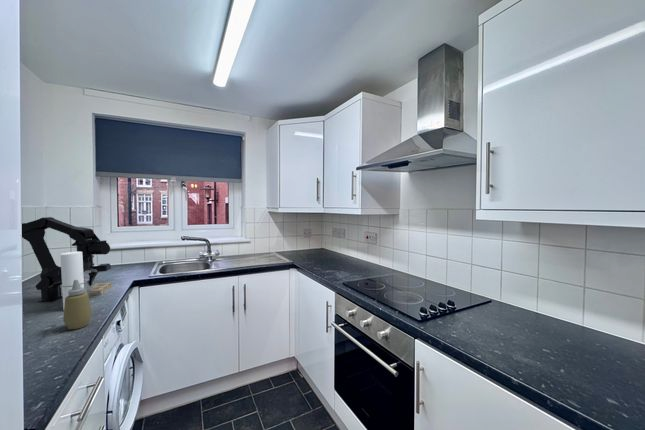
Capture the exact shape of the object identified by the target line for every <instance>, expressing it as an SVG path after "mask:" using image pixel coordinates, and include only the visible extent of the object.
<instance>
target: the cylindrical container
mask: <svg viewBox="0 0 645 430" xmlns="http://www.w3.org/2000/svg"><path fill="white" fill-rule="evenodd" d="M60 267H61V274H62V285H61V294H62V296H63V298H62V307H63V311H64V306H65V298H66V297H67V296H69V295H68V291H69V290H71V289H72V287H73V282H74V280H78V281H79V284H80V286H81V288H84V278H85V277H84V272H83V255H82V252H77V251H67V252H63V253H60Z"/></svg>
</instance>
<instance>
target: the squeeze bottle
mask: <svg viewBox="0 0 645 430" xmlns="http://www.w3.org/2000/svg"><path fill="white" fill-rule="evenodd" d="M68 295H69V296H67V297H66V298H65V306H64V310H63V319H62V320H63V323H64V324H65V326H66V328H67V329H68V330H78V329H81V328H84V327H86V326H89V323H90V320H91V317H92V314H93V313H92V308H91V303H90V302H91V301H90V296H88V294H87V293H85V288H81V286H80V284H79V281H78V280H74V282H73V287H72V289H71V290H69V291H68Z"/></svg>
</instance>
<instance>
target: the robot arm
mask: <svg viewBox="0 0 645 430" xmlns="http://www.w3.org/2000/svg"><path fill="white" fill-rule="evenodd" d="M21 224H22V237H21V238H22V239H24V240H25V241H27V242H28V243H29V245H30V246H31V249H32V251H33V253H34V255H35V256H36V260H37V261H38V264H39V266H40V268H41V271H40V274H39V275H40V281H39V282H38V283H37V284H36V285H35V289H36V290H37V291H40V294H41V295H40V296H41V299H40V300H38V303H41V302H42V303H43V302H45V303H49V302H55V301H57V300H59V299H63V295H62V287H61V286H62V274H61V266H58V265H57V264H56V262H55V260H54V257H53V255H52V253H51V251H50V249H49V247H48V245H47V242H46V240H45V239H44V238H45V236H46V229H52V230H54V231H57V232H59V233H63V234H66V235H67V236H68V237H69V238H70V239H71V240H73V241H74V242H73V243H72V244H71V247H74V246H75V247H76V252H82V255H83V273H85V272H86V271H90V272H88V273H87V274H88V276H89V277H88V278H89V285H90V286H91V285H92V283H93V281H94V282H95V279H96V276H97V275H98V273H100V272H101V273H102V272H107V271H109V270H111V269H112V267H111V264H110V263H100V264H97V265H95V262H94V257H95V256H96V255H99V256H100V255H101V256H102V255H107V254H109V253H110V251H111V245H110V244H109V243H107V240H101V239H100V238H99V236H97V234H96V233H95V232H94V229H92V228H88V227H82V226H75V225H72V224H69V223H67V222H65V221H61V220H58V219H57V218H56V219H55V218H54V217H51V216H46V217H45V216H44V217H41V218H40V217H39V219H35V220H32V221H29V222H23V223H21ZM93 284H94V283H93Z"/></svg>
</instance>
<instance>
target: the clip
mask: <svg viewBox="0 0 645 430" xmlns="http://www.w3.org/2000/svg"><path fill="white" fill-rule="evenodd" d="M94 283H95V280H94V281H93V283H92V285H91V286H90V285H89V277H87V278H85V279H84V288H85V293H87V291H92V290H93V285H94Z"/></svg>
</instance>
